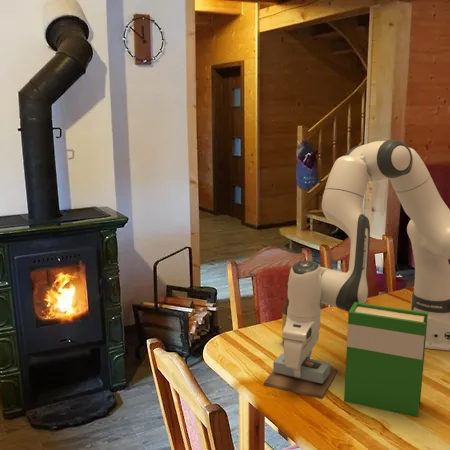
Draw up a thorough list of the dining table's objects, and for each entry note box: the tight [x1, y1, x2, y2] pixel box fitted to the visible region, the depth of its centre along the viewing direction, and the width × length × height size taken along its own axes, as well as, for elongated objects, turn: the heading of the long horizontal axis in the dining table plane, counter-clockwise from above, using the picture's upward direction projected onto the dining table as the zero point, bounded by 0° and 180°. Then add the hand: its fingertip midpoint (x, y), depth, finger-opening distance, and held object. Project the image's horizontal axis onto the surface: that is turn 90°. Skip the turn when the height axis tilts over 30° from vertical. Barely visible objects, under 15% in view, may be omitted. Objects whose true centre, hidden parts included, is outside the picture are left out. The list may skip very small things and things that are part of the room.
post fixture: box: [263, 357, 338, 400], centre depth 148 cm, size 16×16×7 cm
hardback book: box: [343, 302, 428, 418], centre depth 135 cm, size 18×7×24 cm, turn 66°
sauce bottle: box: [281, 282, 289, 346], centre depth 167 cm, size 6×6×20 cm
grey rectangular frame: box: [272, 352, 331, 384], centre depth 148 cm, size 14×6×3 cm, turn 61°
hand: (302, 369), depth 148 cm, fingers open, 6 cm apart
